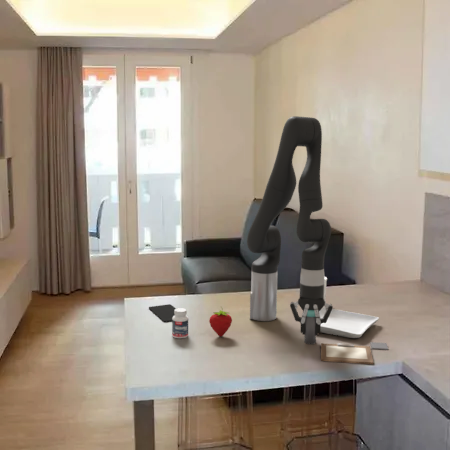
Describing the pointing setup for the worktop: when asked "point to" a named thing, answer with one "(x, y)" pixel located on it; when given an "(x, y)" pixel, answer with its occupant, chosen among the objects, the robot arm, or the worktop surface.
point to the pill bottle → (180, 323)
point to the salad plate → (346, 323)
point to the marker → (310, 328)
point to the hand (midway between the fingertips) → (310, 334)
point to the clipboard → (346, 353)
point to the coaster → (379, 345)
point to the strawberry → (220, 322)
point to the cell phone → (163, 312)
